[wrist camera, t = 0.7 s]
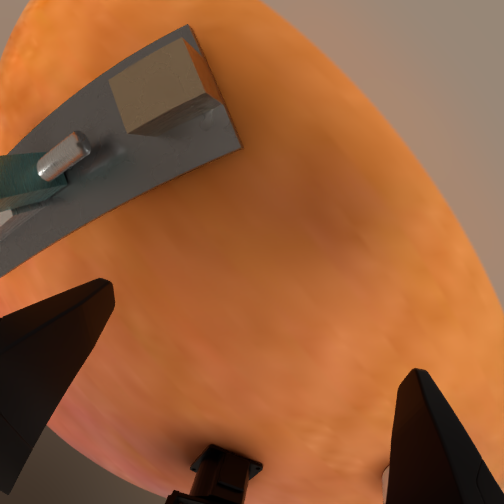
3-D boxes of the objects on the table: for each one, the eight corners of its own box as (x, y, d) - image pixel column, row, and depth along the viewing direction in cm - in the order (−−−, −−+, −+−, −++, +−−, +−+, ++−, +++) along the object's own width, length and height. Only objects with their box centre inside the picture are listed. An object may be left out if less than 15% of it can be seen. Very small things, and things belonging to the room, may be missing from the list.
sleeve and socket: (5, 275, 27) (-27, 291, 22) (-23, 194, 25) (-56, 202, 20) (243, 148, 20) (227, 144, 16) (192, 28, 18) (165, 0, 13)
